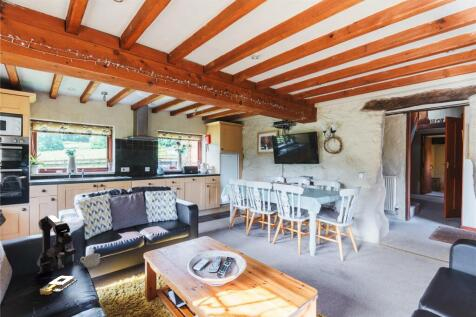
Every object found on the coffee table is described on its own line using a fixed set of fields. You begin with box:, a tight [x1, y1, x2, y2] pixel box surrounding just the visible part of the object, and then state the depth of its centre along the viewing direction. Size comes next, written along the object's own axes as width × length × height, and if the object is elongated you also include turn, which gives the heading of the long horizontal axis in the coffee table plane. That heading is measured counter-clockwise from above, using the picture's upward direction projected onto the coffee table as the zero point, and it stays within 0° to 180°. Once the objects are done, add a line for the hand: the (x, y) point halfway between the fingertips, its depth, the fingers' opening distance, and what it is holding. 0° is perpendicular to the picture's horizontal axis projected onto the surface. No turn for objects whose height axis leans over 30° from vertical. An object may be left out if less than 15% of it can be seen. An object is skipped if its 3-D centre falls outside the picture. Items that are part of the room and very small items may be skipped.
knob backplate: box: [39, 275, 77, 296], centre depth 153 cm, size 14×17×2 cm
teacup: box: [79, 253, 101, 269], centre depth 181 cm, size 14×11×8 cm
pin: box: [57, 253, 65, 269], centre depth 157 cm, size 4×4×9 cm
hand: (60, 264), depth 157 cm, fingers closed on pin, 3 cm apart
